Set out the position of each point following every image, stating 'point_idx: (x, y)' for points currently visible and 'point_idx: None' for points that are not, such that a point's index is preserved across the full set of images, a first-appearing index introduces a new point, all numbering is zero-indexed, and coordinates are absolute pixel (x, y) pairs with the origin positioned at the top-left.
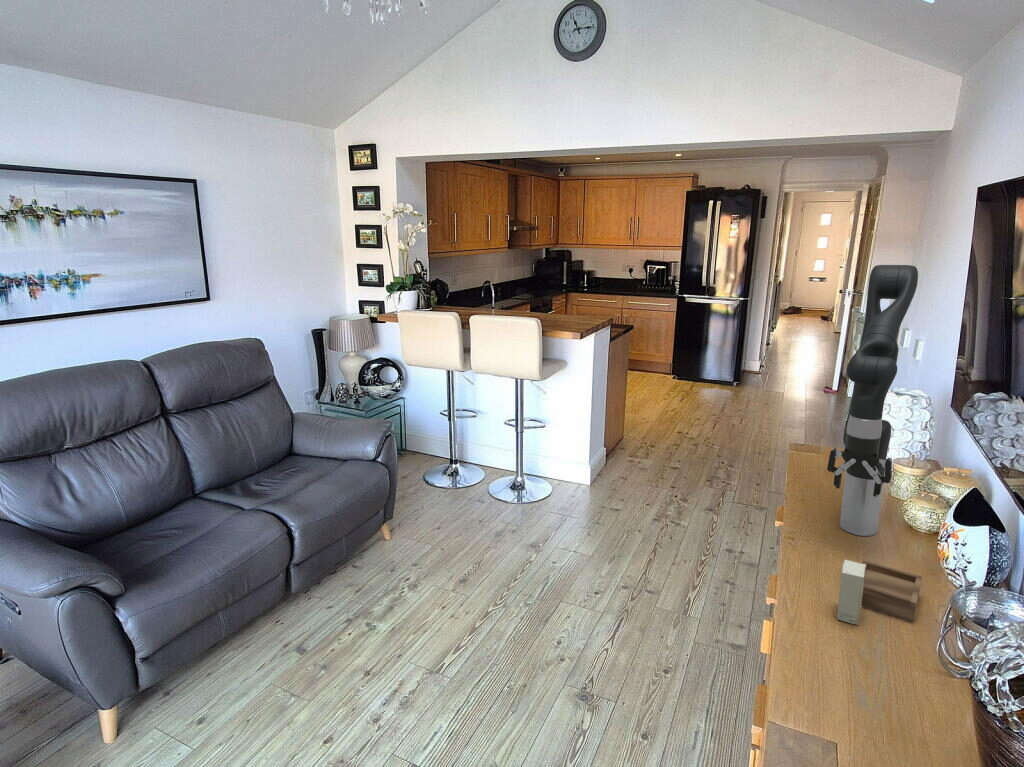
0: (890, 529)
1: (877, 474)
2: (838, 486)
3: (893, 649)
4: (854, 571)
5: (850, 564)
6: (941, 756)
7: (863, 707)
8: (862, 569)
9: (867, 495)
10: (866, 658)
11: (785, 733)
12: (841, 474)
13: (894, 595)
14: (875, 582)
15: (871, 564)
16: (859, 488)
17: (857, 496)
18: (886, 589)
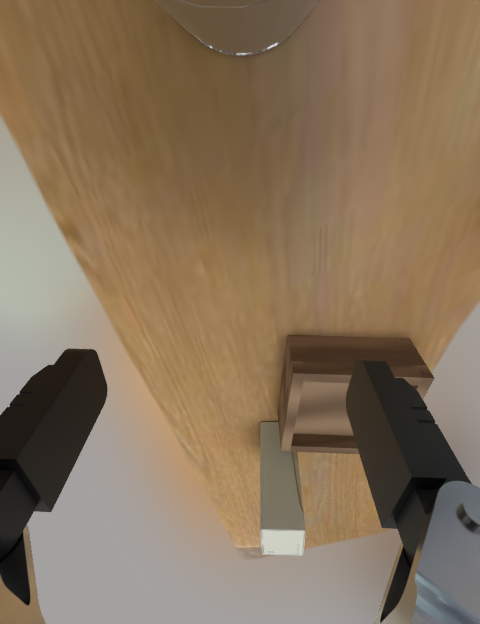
0: None
1: (466, 605)
2: (96, 413)
3: (339, 464)
4: (285, 548)
5: (274, 537)
6: (366, 535)
7: (304, 523)
8: (299, 541)
9: (294, 4)
10: (305, 484)
11: (247, 550)
12: (27, 471)
13: (355, 451)
14: (320, 404)
15: (313, 380)
16: (210, 3)
17: (211, 23)
18: (341, 415)
